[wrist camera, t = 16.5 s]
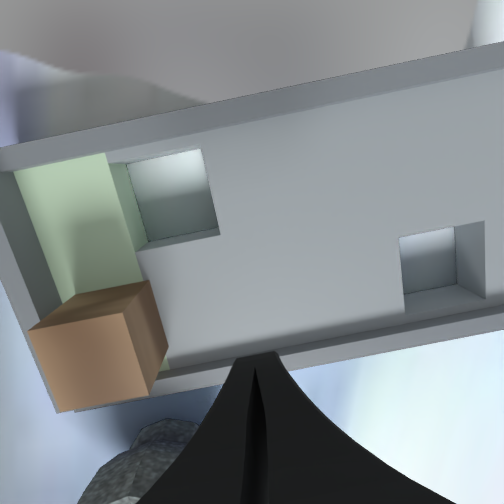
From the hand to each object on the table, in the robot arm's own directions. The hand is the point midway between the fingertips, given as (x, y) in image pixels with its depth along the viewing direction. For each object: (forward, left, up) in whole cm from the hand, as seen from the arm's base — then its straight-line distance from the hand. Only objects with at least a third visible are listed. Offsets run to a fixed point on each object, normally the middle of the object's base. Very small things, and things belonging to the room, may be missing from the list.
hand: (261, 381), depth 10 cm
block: (+7, 0, -7) cm, 10 cm away
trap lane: (-2, -2, -10) cm, 10 cm away
